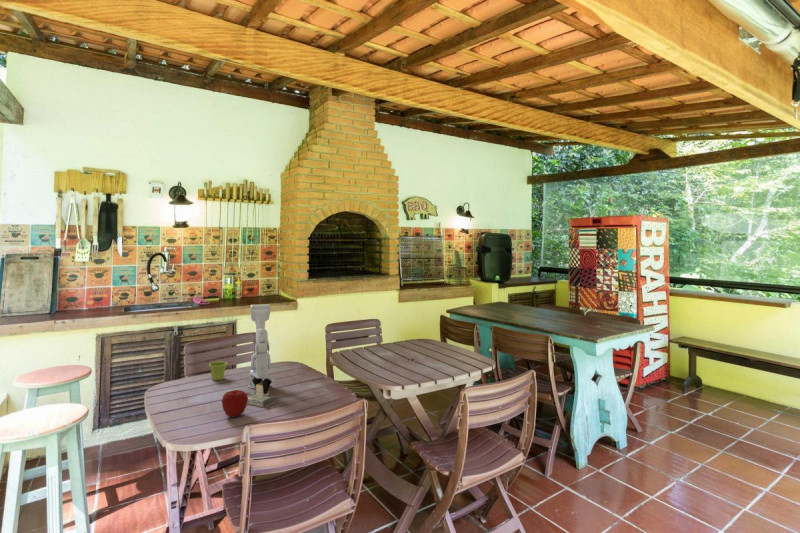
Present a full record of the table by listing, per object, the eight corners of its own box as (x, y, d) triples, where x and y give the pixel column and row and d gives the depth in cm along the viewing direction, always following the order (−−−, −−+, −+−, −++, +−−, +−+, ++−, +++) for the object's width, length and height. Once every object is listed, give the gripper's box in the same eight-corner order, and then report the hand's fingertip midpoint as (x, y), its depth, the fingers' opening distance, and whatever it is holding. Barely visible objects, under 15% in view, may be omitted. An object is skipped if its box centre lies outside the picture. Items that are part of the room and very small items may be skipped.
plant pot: (215, 376, 241) (214, 361, 241) (230, 376, 240) (230, 361, 239) (205, 381, 232) (205, 365, 231) (221, 382, 230) (221, 366, 230)
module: (256, 396, 209) (256, 384, 209) (262, 393, 213) (262, 381, 213) (262, 397, 207) (262, 385, 207) (268, 394, 211) (268, 382, 211)
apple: (239, 422, 178) (238, 395, 178) (216, 419, 180) (216, 393, 179) (252, 412, 189) (252, 386, 188) (230, 410, 191) (230, 385, 190)
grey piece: (239, 402, 200) (239, 396, 200) (251, 397, 208) (251, 391, 207) (264, 407, 194) (264, 401, 194) (275, 402, 202) (275, 395, 201)
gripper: (245, 366, 209) (245, 393, 209) (268, 370, 203) (268, 397, 203) (255, 362, 215) (255, 388, 216) (277, 366, 209) (277, 393, 210)
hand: (262, 392), depth 210 cm, fingers closed on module, 4 cm apart
